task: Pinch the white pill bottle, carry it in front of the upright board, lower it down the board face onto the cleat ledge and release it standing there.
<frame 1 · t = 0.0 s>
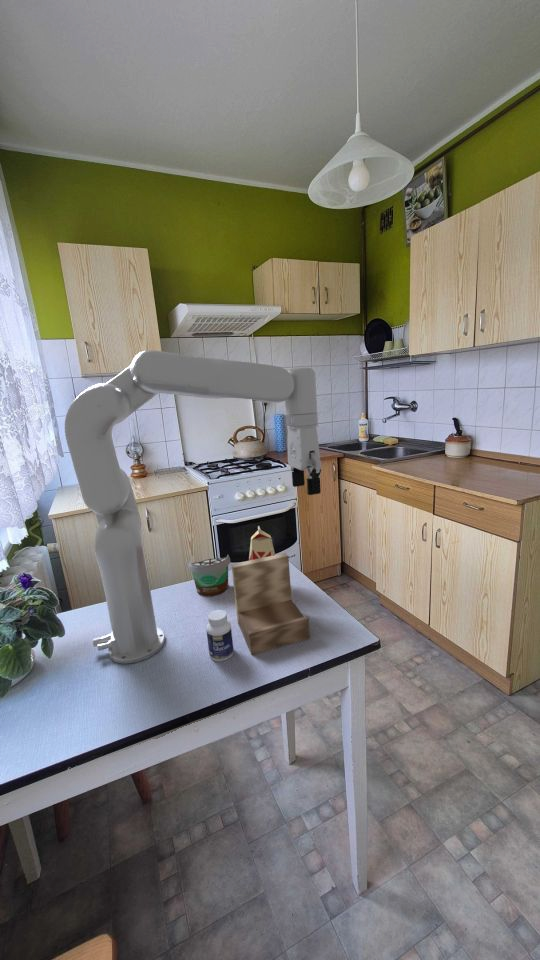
hand: (306, 489, 96), 31 cm above the table, tool pointing down, fingers open, 9 cm apart
pill bottle: (221, 654, 85), on the table
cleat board: (266, 620, 96), on the table
food container: (213, 593, 112), on the table
milk carton: (265, 592, 111), on the table
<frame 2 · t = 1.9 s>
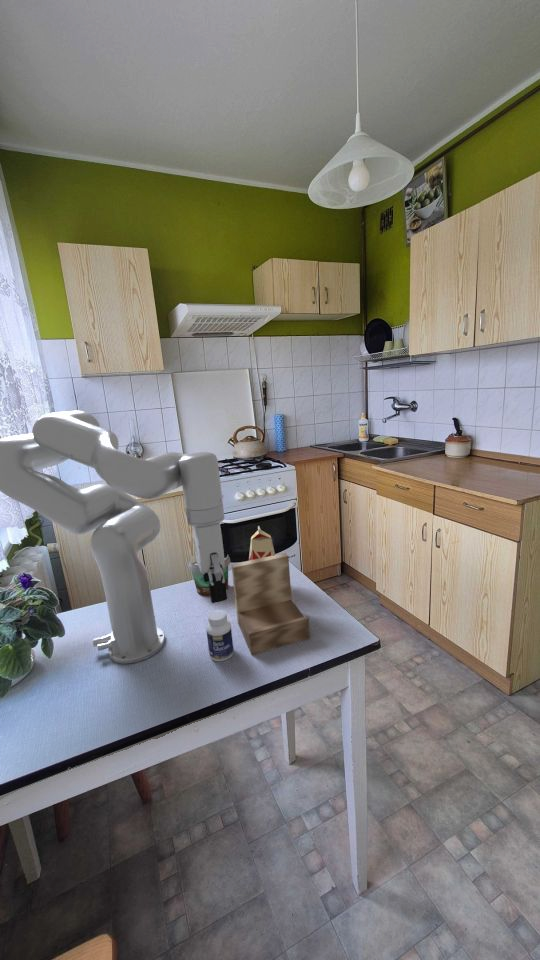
hand: (215, 590, 82), 16 cm above the table, tool pointing down, fingers open, 9 cm apart
nothing on the table moved.
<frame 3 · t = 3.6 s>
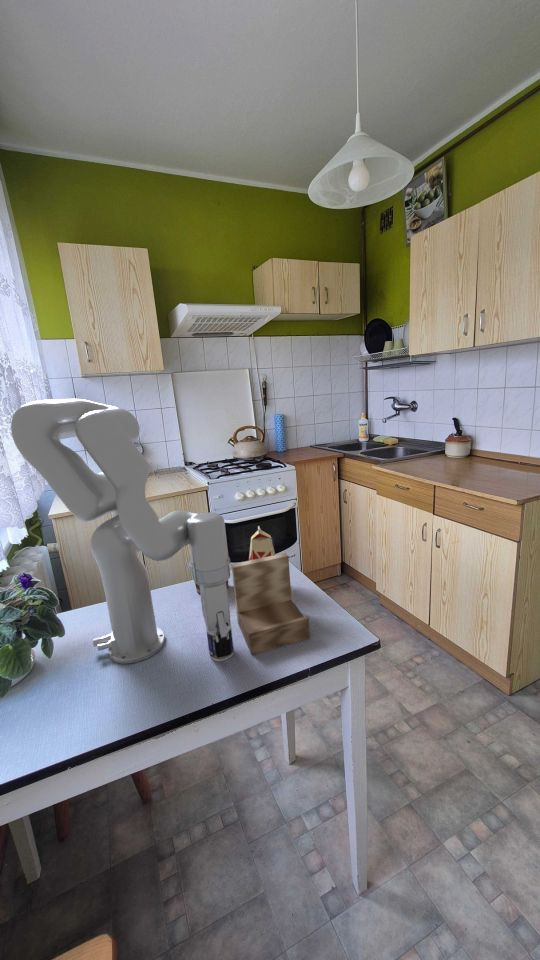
hand: (221, 646, 85), 2 cm above the table, tool pointing down, fingers closed on pill bottle, 5 cm apart
pill bottle: (222, 654, 85), on the table, touching gripper
everything else where it was.
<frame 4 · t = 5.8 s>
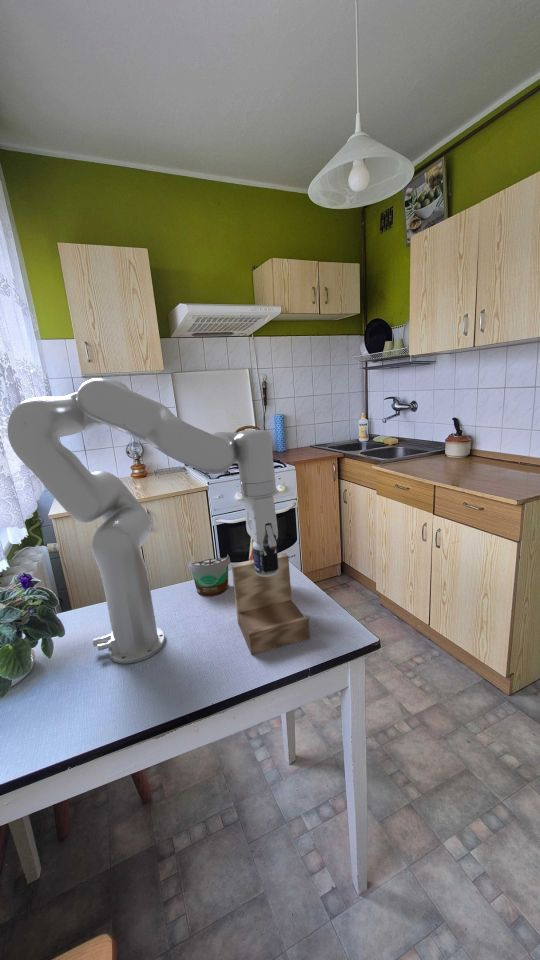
hand: (266, 564, 87), 18 cm above the table, tool pointing down, fingers closed on pill bottle, 5 cm apart
pill bottle: (267, 572, 87), point 16 cm above the table, touching gripper
everything else where it was.
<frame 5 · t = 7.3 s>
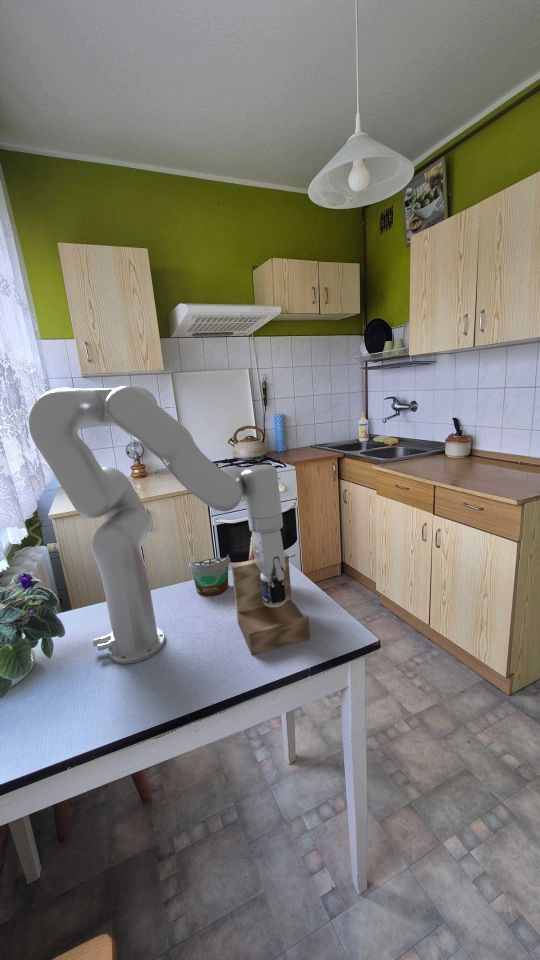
hand: (273, 594, 89), 10 cm above the table, tool pointing down, fingers closed on pill bottle, 5 cm apart
pill bottle: (275, 602, 89), point 8 cm above the table, touching gripper
everything else where it was.
when the fingers open (8 cm above the table, at t = 8.3 s): pill bottle drops 1 cm, resting on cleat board.
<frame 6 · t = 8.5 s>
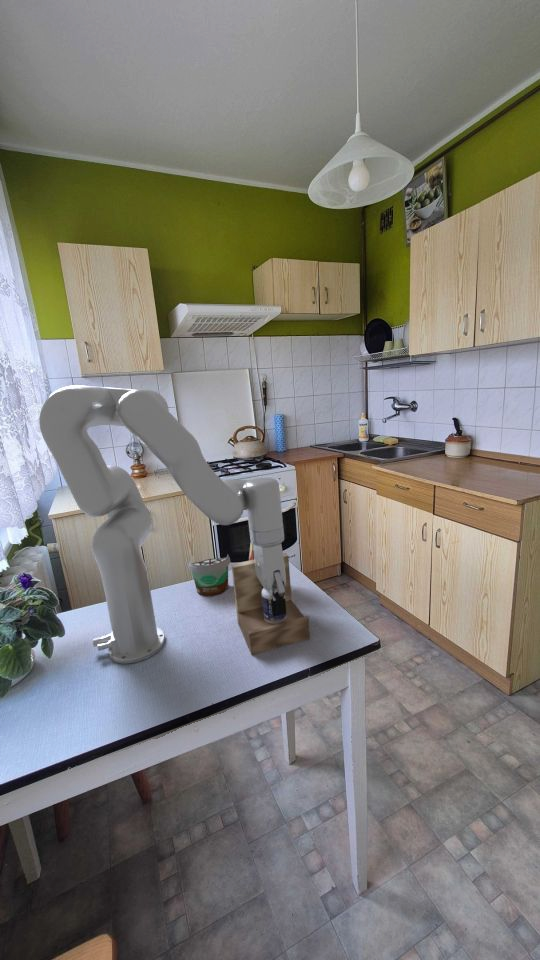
hand: (274, 605, 89), 8 cm above the table, tool pointing down, fingers open, 6 cm apart
pill bottle: (275, 618, 90), point 4 cm above the table, touching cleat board
everything else where it was.
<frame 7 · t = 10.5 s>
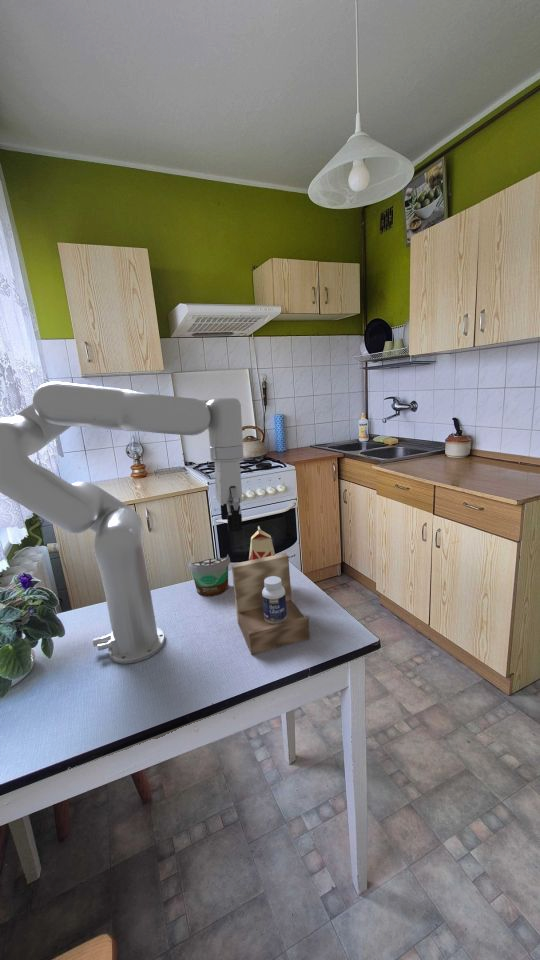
hand: (231, 524, 91), 26 cm above the table, tool pointing down, fingers open, 9 cm apart
nothing on the table moved.
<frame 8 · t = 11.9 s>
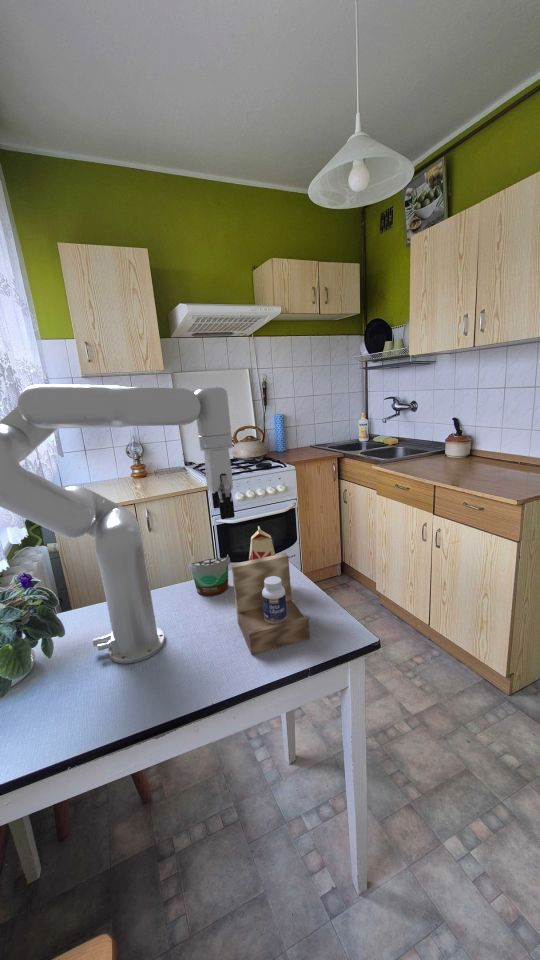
hand: (223, 512, 93), 28 cm above the table, tool pointing down, fingers open, 9 cm apart
nothing on the table moved.
at the end: pill bottle inside the target area on the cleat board (0.7 cm from its centre), point 3.8 cm above the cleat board's base; pill bottle tilted 0°; the gripper is holding nothing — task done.
